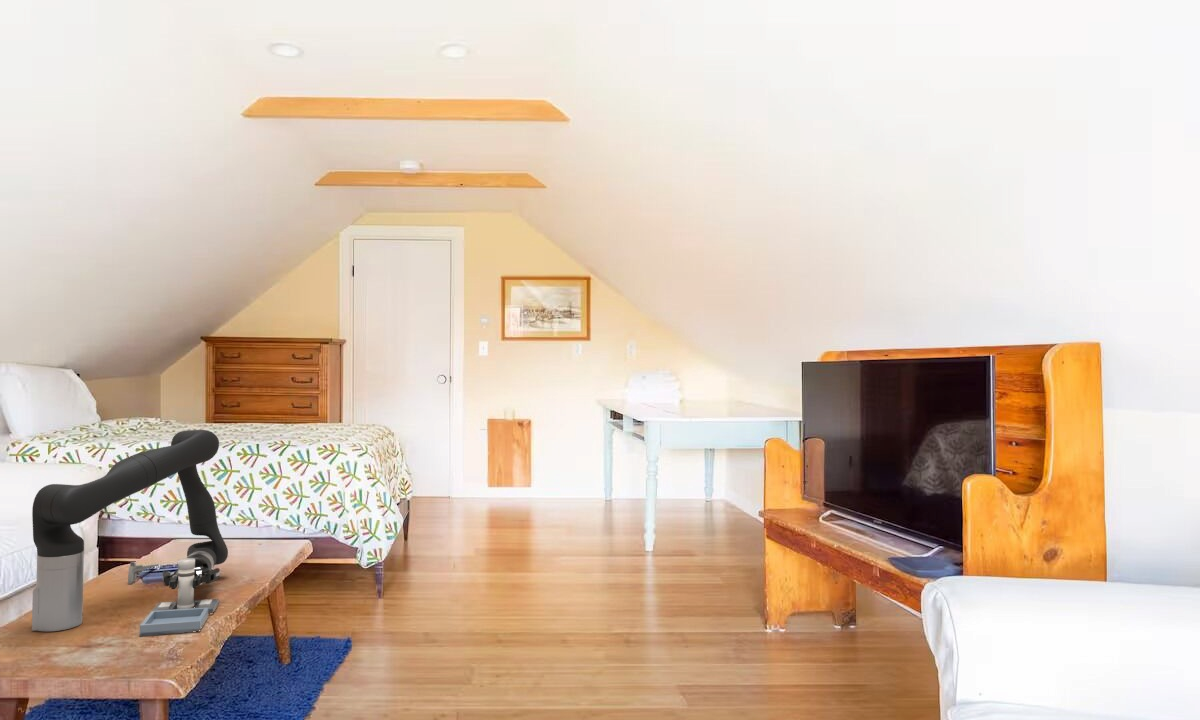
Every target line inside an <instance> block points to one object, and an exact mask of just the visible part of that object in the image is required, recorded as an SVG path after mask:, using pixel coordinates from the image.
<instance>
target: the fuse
mask: <svg viewBox="0 0 1200 720" xmlns="http://www.w3.org/2000/svg"><path fill="white" fill-rule="evenodd" d="M194 569H195V559H194V558H187V557H186V558H185V557H184V558H180V559H178V562H177V570H178V585H177V601H178V604H177V609H184V608H194V600H195V588H193V579H194V575H195V571H194Z"/></svg>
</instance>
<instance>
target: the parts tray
mask: <svg viewBox="0 0 1200 720" xmlns="http://www.w3.org/2000/svg"><path fill="white" fill-rule="evenodd" d="M207 617H208V618H209V615H208V608H192V609H177V610H161V611H152V610H151V611H150V612H149V614H148V615H147V616H146V617H145V619H144V620H143V621H142V622H141V623H140V625H139V637H148V636H149V637H150V636H163V635H165V634H166V635H174V634H173V633H180V634H184V633H183V632H193V631H199V630H200V629H201V627H202V626H203V624H204V622H205V621H206V619H207ZM207 620H208V619H207ZM206 622H207V621H206ZM206 622H205V623H206ZM204 625H205V624H204ZM203 627H204V626H203ZM201 630H202V629H201ZM166 635H165V636H166Z"/></svg>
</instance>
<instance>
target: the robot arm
mask: <svg viewBox="0 0 1200 720" xmlns="http://www.w3.org/2000/svg"><path fill="white" fill-rule="evenodd" d="M219 448H220V440H219V437H218V436H217V435H216V434H215V432H212V431H210V430H207V429H193V430H192V429H191V430H181V431H178V432H177V433H175V434H174V436H173V438H172V439H171V443H170V445H167V446H163V447H158V448H153V449H148V450H145V451H141V452H140V451H139V452H137V453H136V454H132V455H130V456H128V457H125V458H123V459H121V460H119V461H118V462H116V463H115V464H113V465H112V466H111V467H110V469H109V470H108V472H107V473H106V474H105V475H104V476H103V477H102V476H101V477H100V478H97V479H95V480H93V481H90V482H87V483H83V484H62V483H59V484H58V483H52V484H48V485H45V486H43V487H42V488H40V489H39V490H38V492H37V493H36V495H35V497H34V499H33V503H32V508H31V509H32V510H31V515H32V516H31V520H32V540H33V544H34V545H35V547H36V582H35V583H36V584H35V585H36V587H34V588H33V589H32V606H31V607H32V610H31V613H32V614H31V631H38V632H59V631H64V630H69V629H73V628H76V627H78V626H81V624H82V623H83V616H84V612H83V609H84V608H83V607H84V605H83V603H84V571H85V569H84V568H85V566H84V565H85V563H84V562H85V561H84V559H85V541H84V538H83V537H81V536H80V535H78V534H77V533H76V532H74V530H73V528H72V526H71V525H77V524H79V523H82V522H85V521H86V520H88V519H90V518H91V517H93V516H94V515H96V514H98V513H99V512H101V511H102V510H104V509H105V508H107V507H108V506H110V505H112V504H114V503H117V502H119V501H121V500H123V499H126V498H127V497H130V496H132V495H134V494H136V493H139V492H140V491H143V490H145V489H147V488H149V487H152V486H153V485H155V484H157V483H158V482H160V481H161V482H162V481H163V480H165V479H167V478H169V477H171V476H174V475H175V474H176V473H177V475H178V478H179V482H180V485H181V487H182V490H183V494H184V497H185V502H186V507H187V515H188V521H189V530H190V532H191V534H192V536H193V535H194V536H204V537H207V538H209V539H210V540H207V541H201V542H196V543H195V542H194V543H193V544H191V545H189V547H188V548H187V551H186V552H187V553H186V558H194V559H195V569H194V571H195V575H194V579H193V588H194V589H196V588H197V587H200V586H201V585H203V583H205V584H206V585H208V584H211V583H213V582H215V581H216V580H218V579H220V575H221V574H220V568H218V567H216V568H214V567H215V566H218V565H221V564H223V563H225V562H226V561H227V558H228V557H229V556H228V555H229V550H228V546H227V544H226V542H225V540H224V538H223V536H222V533H221V532H220V528H219V525H218V520H217V513H216V506H215V502H214V499H213V497H212V494H210V492H209V490H208V489H207V487H206V486H205V484H204V483H203V481H202V479H201V477H200V474H199V472H198V468H197V465H199V464H201V463H202V464H203V463H206V462H208V461H210V460H211V459H213V458H214V457H215V455H216V454H217V452H218V451H219ZM162 583H163V585H164V586H165V587H169V588H170V589H171V590H175V589H176V588H178V569H177V570H174V572H172V573H171V571H168V570H164V571H162Z"/></svg>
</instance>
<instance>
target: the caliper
mask: <svg viewBox="0 0 1200 720" xmlns="http://www.w3.org/2000/svg"><path fill="white" fill-rule="evenodd" d="M154 566H159V563H153V564H146V565H143V564H137V562H136V561H131V562H130V565H129V567H128V572H127V573H128V574H127V584H128V585H133V584H135V583H136V580H137V576H139V575H141V574H140V573H142V574H143V572H145V571H144V570H145V569H147V568H150V567H154Z"/></svg>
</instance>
